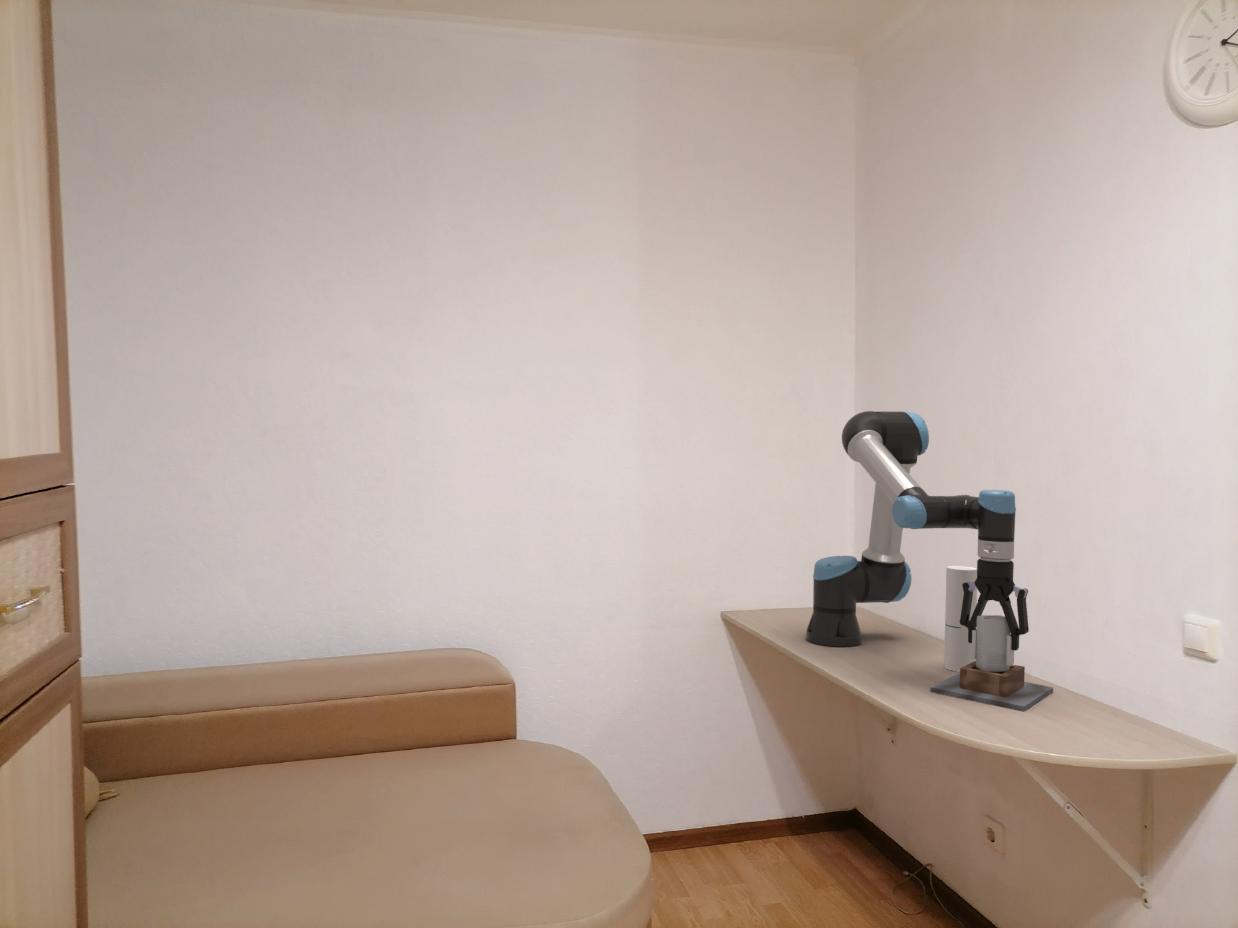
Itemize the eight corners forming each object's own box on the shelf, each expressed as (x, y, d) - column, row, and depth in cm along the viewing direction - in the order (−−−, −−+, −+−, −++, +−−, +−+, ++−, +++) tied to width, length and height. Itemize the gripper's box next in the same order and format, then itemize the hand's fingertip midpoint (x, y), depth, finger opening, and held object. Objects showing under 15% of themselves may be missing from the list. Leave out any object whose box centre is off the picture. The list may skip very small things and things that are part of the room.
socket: (930, 691, 197) (930, 667, 197) (964, 674, 212) (964, 652, 212) (1024, 711, 184) (1024, 684, 184) (1053, 691, 199) (1053, 667, 198)
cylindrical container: (977, 673, 213) (980, 570, 213) (946, 671, 215) (949, 569, 214) (972, 665, 220) (974, 566, 220) (941, 664, 222) (944, 565, 221)
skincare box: (1000, 667, 200) (1001, 614, 200) (1010, 672, 196) (1012, 618, 195) (974, 667, 200) (975, 614, 199) (984, 672, 195) (985, 618, 195)
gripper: (945, 556, 201) (942, 656, 202) (1037, 565, 188) (1033, 672, 188) (957, 553, 206) (955, 650, 207) (1047, 562, 193) (1044, 666, 194)
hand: (992, 660), depth 198 cm, fingers closed on skincare box, 7 cm apart
